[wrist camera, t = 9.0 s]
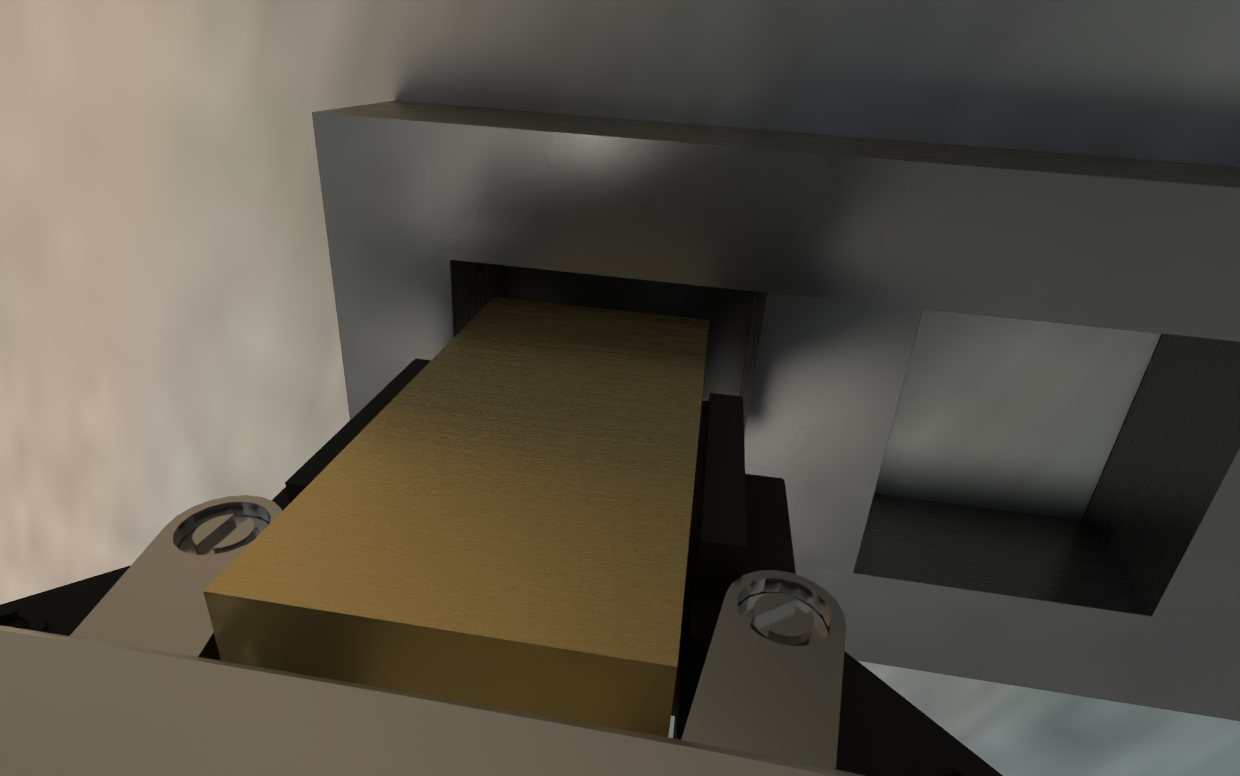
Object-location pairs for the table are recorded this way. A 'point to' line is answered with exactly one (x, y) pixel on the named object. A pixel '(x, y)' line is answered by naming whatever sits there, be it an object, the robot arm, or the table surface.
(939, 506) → the steel rail
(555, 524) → the brass peg
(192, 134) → the table surface
